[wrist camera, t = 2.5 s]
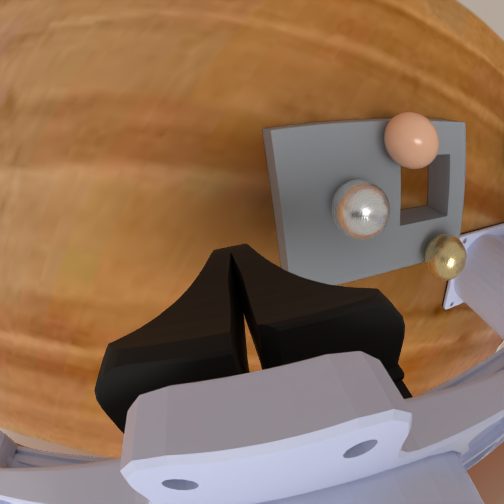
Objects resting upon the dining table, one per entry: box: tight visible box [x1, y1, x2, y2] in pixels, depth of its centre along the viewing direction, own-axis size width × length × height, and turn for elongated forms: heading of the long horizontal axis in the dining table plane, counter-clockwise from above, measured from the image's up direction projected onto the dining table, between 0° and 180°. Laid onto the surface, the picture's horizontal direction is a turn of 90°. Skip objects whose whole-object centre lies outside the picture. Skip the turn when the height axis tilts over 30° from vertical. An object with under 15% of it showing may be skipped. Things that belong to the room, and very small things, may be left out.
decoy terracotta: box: [384, 112, 439, 169], centre depth 14 cm, size 3×3×3 cm
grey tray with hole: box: [262, 118, 466, 285], centre depth 18 cm, size 14×10×2 cm
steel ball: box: [332, 179, 390, 240], centre depth 15 cm, size 3×3×3 cm
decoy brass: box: [425, 234, 466, 280], centre depth 17 cm, size 3×3×3 cm
